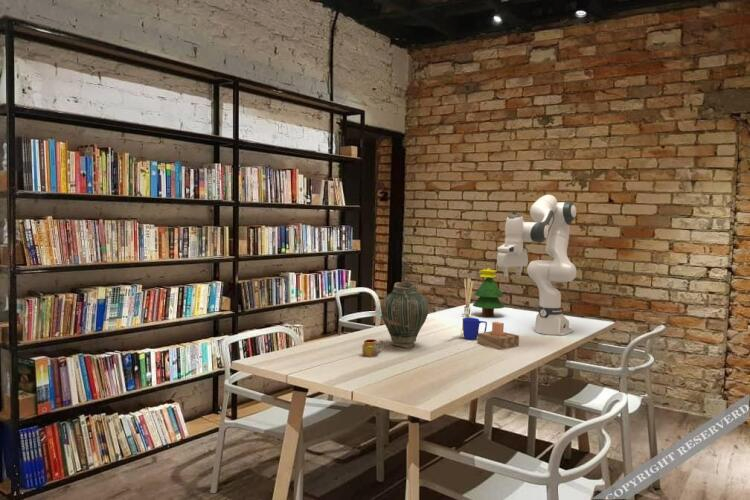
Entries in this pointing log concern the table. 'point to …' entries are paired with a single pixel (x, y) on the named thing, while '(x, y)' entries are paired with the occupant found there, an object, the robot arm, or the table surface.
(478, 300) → the decorative tree
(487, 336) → the wooden tray
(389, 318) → the vase
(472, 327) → the mug
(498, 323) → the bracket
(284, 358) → the table surface
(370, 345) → the mug
